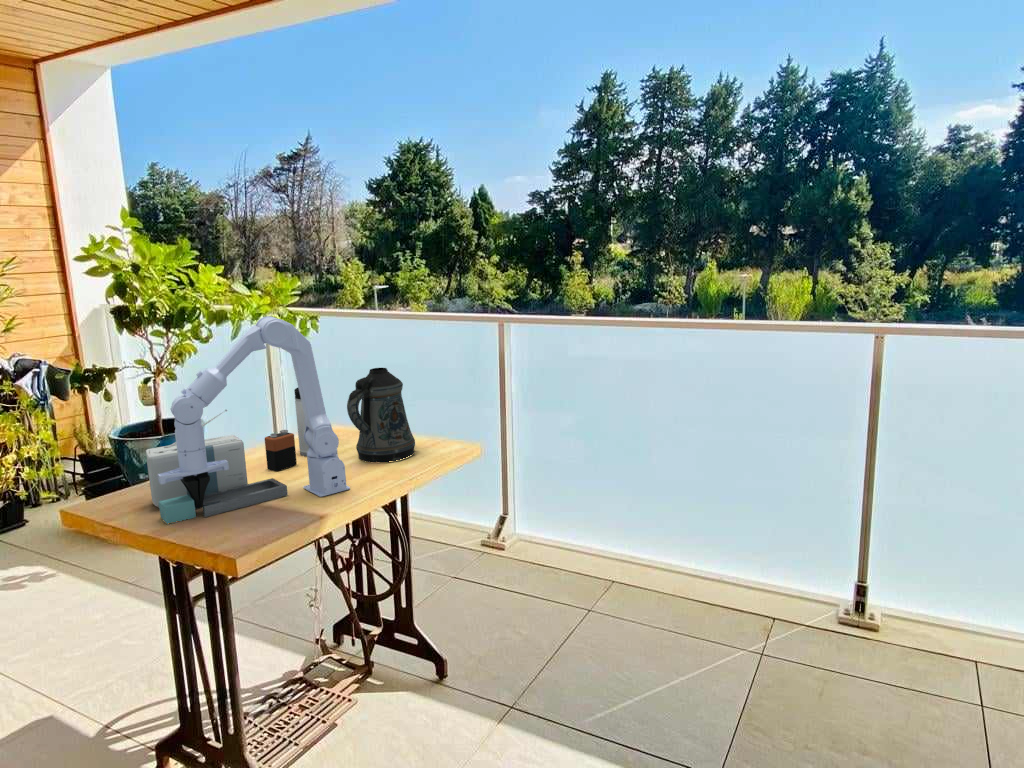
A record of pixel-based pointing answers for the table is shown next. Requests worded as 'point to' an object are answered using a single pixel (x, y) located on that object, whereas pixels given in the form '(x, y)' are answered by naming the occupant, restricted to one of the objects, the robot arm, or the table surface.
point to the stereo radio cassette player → (215, 451)
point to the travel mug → (300, 423)
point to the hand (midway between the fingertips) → (198, 506)
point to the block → (177, 509)
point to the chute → (242, 496)
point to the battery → (280, 451)
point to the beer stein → (380, 418)
